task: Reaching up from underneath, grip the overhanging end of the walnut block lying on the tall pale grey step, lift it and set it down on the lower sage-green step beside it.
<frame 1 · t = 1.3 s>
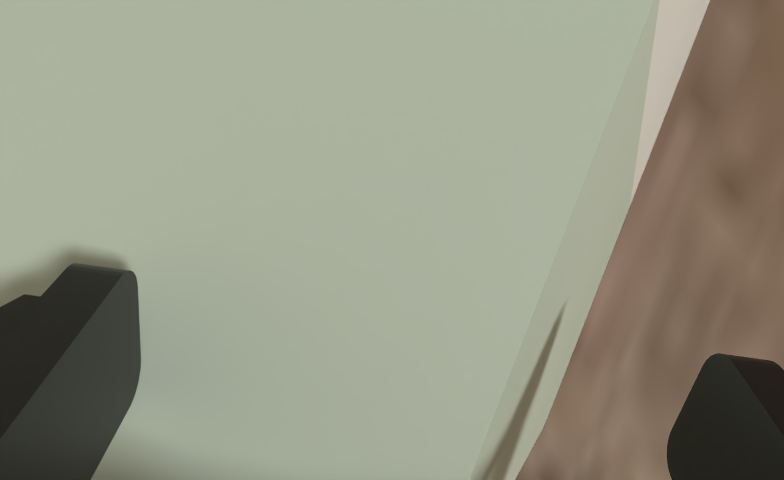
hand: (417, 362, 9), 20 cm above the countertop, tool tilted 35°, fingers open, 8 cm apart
stepped stand: (456, 149, 30), on the countertop
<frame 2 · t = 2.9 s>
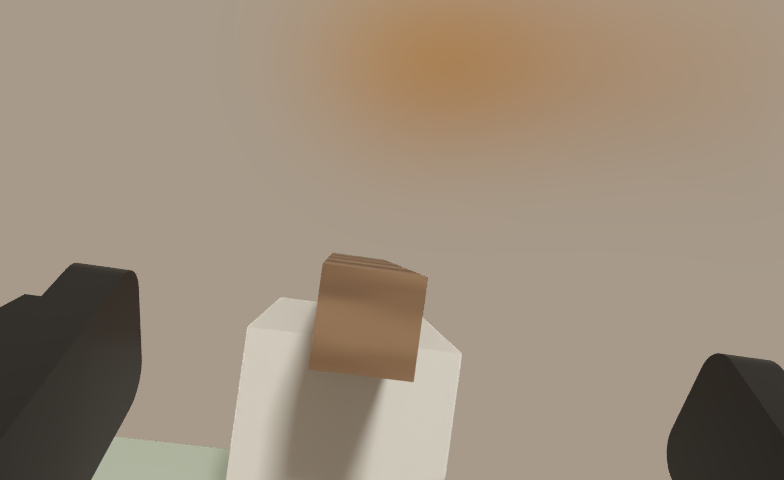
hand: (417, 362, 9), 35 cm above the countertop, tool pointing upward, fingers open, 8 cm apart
walnut block: (354, 329, 33), point 32 cm above the countertop, touching stepped stand
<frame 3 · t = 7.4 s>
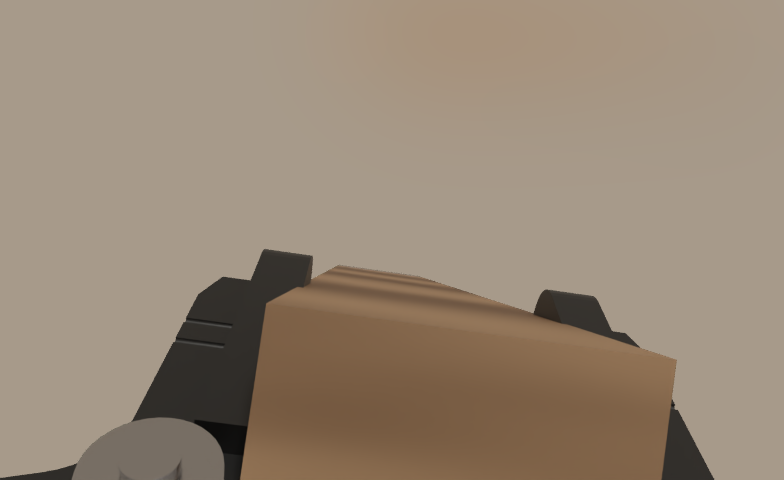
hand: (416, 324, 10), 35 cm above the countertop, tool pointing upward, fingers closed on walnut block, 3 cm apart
walnut block: (375, 414, 17), point 32 cm above the countertop, touching gripper, stepped stand
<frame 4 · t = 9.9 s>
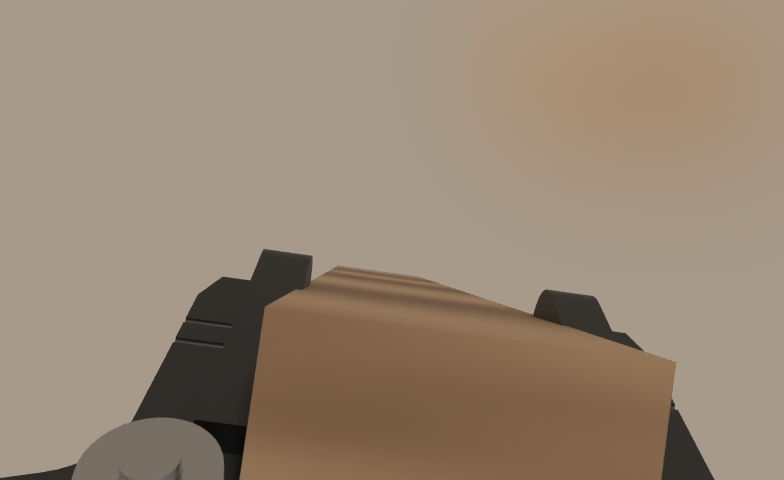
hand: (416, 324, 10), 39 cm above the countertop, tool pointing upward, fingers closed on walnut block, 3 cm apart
walnut block: (374, 415, 17), point 36 cm above the countertop, touching gripper
when the fingers open (26 cm above the countertop, at t = 12.6 s): walnut block drops 2 cm, resting on stepped stand.
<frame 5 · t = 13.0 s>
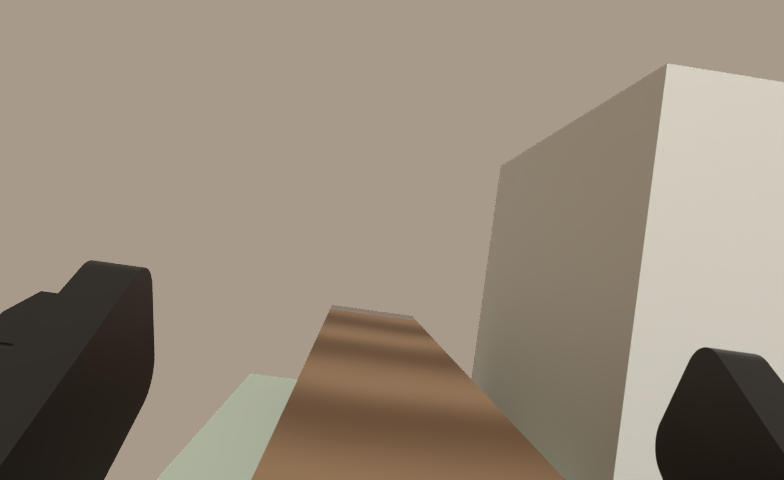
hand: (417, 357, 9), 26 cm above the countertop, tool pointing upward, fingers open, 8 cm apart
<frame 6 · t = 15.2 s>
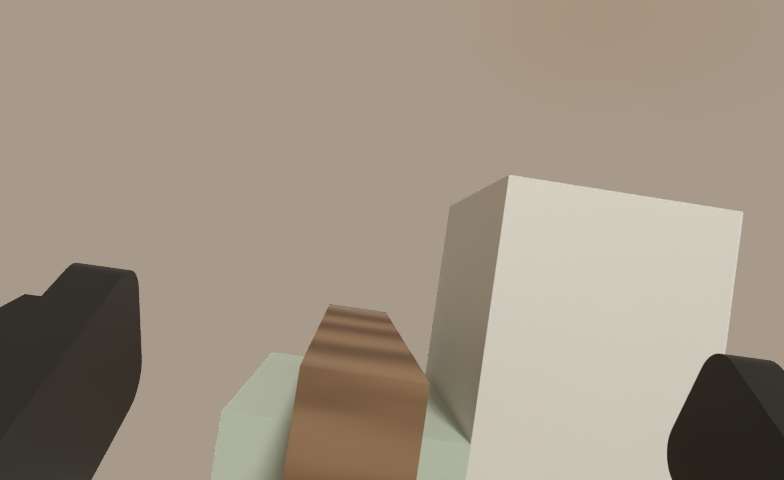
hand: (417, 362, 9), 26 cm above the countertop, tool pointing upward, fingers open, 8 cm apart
walnut block: (348, 407, 29), point 21 cm above the countertop, touching stepped stand
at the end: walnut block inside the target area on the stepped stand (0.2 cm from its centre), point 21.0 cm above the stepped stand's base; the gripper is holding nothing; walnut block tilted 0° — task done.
